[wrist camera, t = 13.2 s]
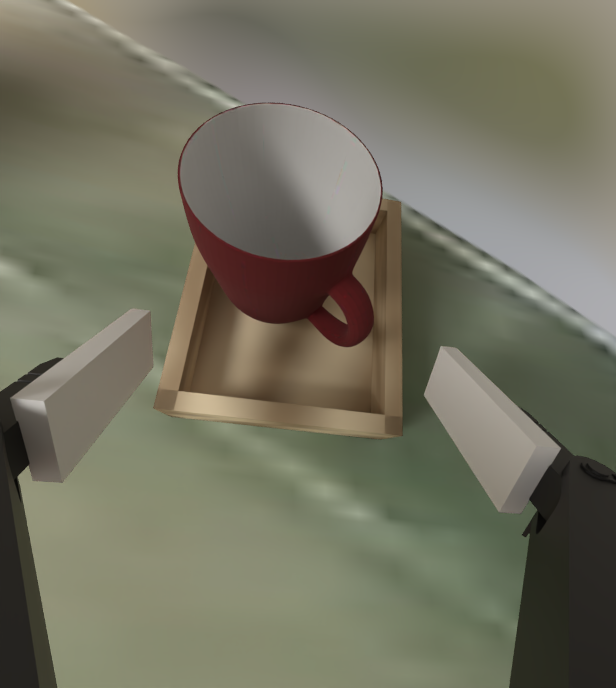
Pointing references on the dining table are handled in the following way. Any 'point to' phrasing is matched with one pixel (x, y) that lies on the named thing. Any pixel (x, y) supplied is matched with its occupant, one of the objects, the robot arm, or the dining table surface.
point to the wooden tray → (291, 355)
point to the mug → (283, 214)
